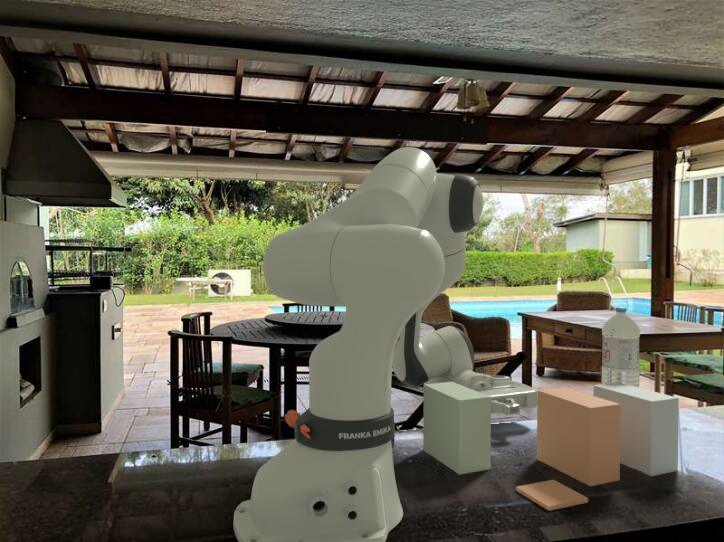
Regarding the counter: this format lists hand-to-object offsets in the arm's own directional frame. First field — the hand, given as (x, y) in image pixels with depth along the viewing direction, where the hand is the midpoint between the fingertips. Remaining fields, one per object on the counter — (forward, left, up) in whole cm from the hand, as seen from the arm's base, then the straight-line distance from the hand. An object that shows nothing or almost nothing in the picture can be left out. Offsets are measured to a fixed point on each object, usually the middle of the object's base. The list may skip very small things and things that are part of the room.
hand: (514, 410), depth 104 cm
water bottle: (+22, -5, -6) cm, 23 cm away
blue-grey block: (+12, -17, -5) cm, 22 cm away
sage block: (-16, -5, -5) cm, 18 cm away
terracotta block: (0, -17, -5) cm, 17 cm away
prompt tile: (-11, -23, -5) cm, 26 cm away
